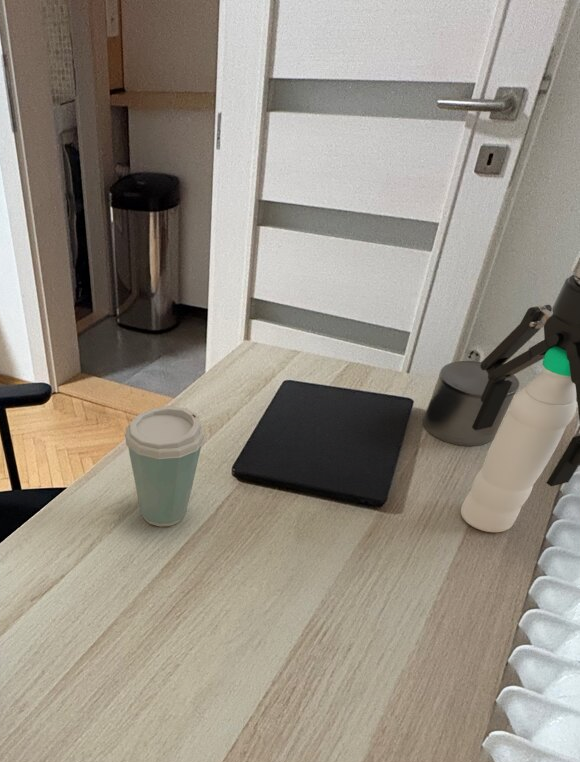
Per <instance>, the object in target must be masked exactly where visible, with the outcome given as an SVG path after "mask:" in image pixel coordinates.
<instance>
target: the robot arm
mask: <svg viewBox="0 0 580 762" xmlns="http://www.w3.org/2000/svg"><path fill="white" fill-rule="evenodd" d="M570 271H571V273H572V274H571V275H570V276H569V277H567V278H566V279H565V280H564V283H563V285H562V287H561V289H560V291H559V293H558V295H557V297H556V299H555V302H554V304H553V306H551V305H550V304H544V305H537V306H531V307H529V308H528V309H527V311H526V312H525V314H524V316H523V317H522V319H521V322H520V323H519V324H518V325H517V326H516V327H515V328H514V329H513V330H512V331H511V332H510V333H509V334H508V335H507V336H506V337H505V338H504V339H503V340H502V341H501V342H500V343H499V344H498V345H497V346H496V347H495V348H494V349H493V350H492V351H490V353H489V354H488V355H487V356H486V357H485V358H484V359H483V360H482V361H481V362H482V363H481V369H482V370H486V371H487V373H488V379H489V380H488V383H487V385H486V387H485V390H484V392H483V394H482V396H481V402H483V404H482V406H481V408H480V410H479V413H478V415H477V417H476V419H475V422H474V424H473V426H472V428H473V429H474V430H479V429H484V428H489V427H492V425H493V423H494V421H495V419H496V417H497V415H498V413H499V410H500V408H501V406H502V404H503V402H504V400H505V398H506V396H507V393H508V391H509V389H510V387H511V385H512V382H511V381H509V380H506V381H505V379H506V378H510V377H513V376H512V375H514V376H515V375H516V374H518V373H519V372H521V371H523V370H525V369H527V368H529V367H530V366H531V367H532V366H533V365H534V364H536V363H538V362H540V361H543V358H544V356H545V354H546V352H547V350H548V349H550V348H552V347H555V346H557V347H559V348H561V349H563V350H565V351H566V354H567V359H568V360H569V364H570V373H571V381H572V382H573V383H574V384H575V386H576V405H577V412H578V421H579V423H580V251H579V252H578V254H577V256H576V258H575V260H574V262H573V265H572V266H571V269H570ZM541 329H543V334H544V335H543V336H544V339H543V340H541V341H540V342H538V343H536V344H534V345H532V346H531V347H529V348H528V350H526V351H524V352H523V353H521V354H519V355H517V356H515V357H514V358H512V357H513V356H514V355H515V354H516V353H517V352H518V351H519V350H520V349H521V348H523V346H525V344H527V342H529V340H531V339H532V338H533V337H534V336H535V335H536V334H537V333H538V332H539V331H540V330H541ZM511 358H512V359H511ZM509 359H510V360H509ZM579 467H580V435H575V436H572V438H571V440H570V441H569V443H568V445H567V447H566V448H565V451H564V452H563V454H562V455H561V456H560V459H559V460H558V462H557V464H556V466H555V467H554V469H553V470H552V472H551V474H550V476H549V478H548V479H547V480H546V484H547V485H548V486H549V487H554V486H559V485H563V484H566V483H569V482H570V481H571V479H572V477H573V476H574V474H575V472H576V471H577V470H578V468H579Z"/></svg>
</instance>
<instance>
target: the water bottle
mask: <svg viewBox="0 0 580 762" xmlns="http://www.w3.org/2000/svg"><path fill="white" fill-rule="evenodd" d="M541 362H542V363H541V366H540V368H541V372H540V373H539V374H538V375H537V376H535V377H534V378H532V379H531V380H530V381H529V382H528V384H527V385H525V386H523V388H521V389H520V390H518V391H517V392H516V393H515V395H514V397H513V399H512V401H511V403H510V405H509V410H508V411H507V412H506V414H505V416H504V418H503V420H502V422H501V424H500V427H499V429H498V431H497V433H496V435H495V437H494V439H493V440H492V441H491V444H490V446H489V448H488V451H487V453H486V456H485V458H484V460H483V463H482V466H481V469H480V470H479V471H478V473H477V474H476V476H475V478H474V480H473V482H472V485H471V489H470V490H469V492H468V493H467V495H466V497H465V499H464V500H463V502H462V504H461V507H460V514H461V517H462V519H463V521H465V523H467V524H468V525H469V526H471V527H473V528H474V529H476V530H479V531H482V532H486V533H502V532H505V531H508V530H509V529H511V528H512V526H513V525H514V524H515V522H516V520H517V518H518V516H519V515H520V512H521V509H522V507H523V505H524V504H525V503H526V502H527V500H528V498H529V497H530V495H531V493H532V490H533V487H534V485H535V483H536V482H537V480H538V479H539V478H540V476H541V475H542V474H543V471H544V470H545V468H546V466H547V465H548V463H549V461H550V459H551V458H552V457H553V455H554V453H555V450H556V449H557V448H558V445H559V443H560V441H561V439H562V437H563V435H564V432H565V431H566V428H567V426H568V425H569V424H570V423H571V422H572V421H573V419H574V417H575V415H576V413H577V395H576V386H575V384H574V383H573V382H572V381H571V373H570V364H569V360H568V359H567V354H566V351H565V350H563V349H561V348H559V347H557V346H555V347H552V348H550V349H548V350H547V352H546V354H545V356H544V358H543V359H542V361H541Z"/></svg>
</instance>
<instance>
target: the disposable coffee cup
mask: <svg viewBox="0 0 580 762" xmlns="http://www.w3.org/2000/svg"><path fill="white" fill-rule="evenodd" d="M124 438H125V445H126V446H127V448H128V453H129V458H130V464H131V468H132V474H133V479H134V485H135V489H136V495H137V498H138V504H139V509H140V515H141V516H142V518H143V519H144V520H145V521H146V522H147V523H148V524H150V525H153V526H155V527H172V526H174V525H176V524H179V523H181V521H182V520H183V518H184V516H185V514H186V513H187V512H188V511H187V510H188V507H189V502H190V498H191V493H192V489H193V486H194V479H195V475H196V472H197V466H198V463H199V458H200V453H201V450H202V445H203V444H204V442H205V441H206V439H205V431H204V429H203V425H202V423H201V420H200V416H198V415H197V414H196V413H195V412H193V411H192V410H191V409H189V408H187V407H182V406H181V407H180V406H174V405H168V406H160V407H153V408H150V409H148V410H146V411H144V412H141V413H139V414H137V415H136V416H134V418H133V420H131V422H130V423H129V424H128V425H127V426H126V427H125V433H124Z"/></svg>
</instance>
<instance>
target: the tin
mask: <svg viewBox="0 0 580 762" xmlns="http://www.w3.org/2000/svg"><path fill="white" fill-rule="evenodd" d="M481 363H482V361H477V360H476V361H475V360H457V361H453V362H449V363H447V364H444V365H443V366H442V368H440V370H439V374H438V378H437V381H436V383H435V386H434V389H433V392H432V395H431V397H430V400H429V402H428V404H427V408H426V411H425V414H424V416H423V419H422V425H423V428H424V429H425V430H426V432H427V433H428V434H430V435H431V436H432V437H434V438H436V439H437V440H440V441H442V442H445V443H448V444H452V445H456V446H463V447H464V446H465V447H477V446H478V447H479V446H484V445H487V444H488V443H490V442H493V440H494V438H495V435H496V433H497V431H498V429H499V427H500V425H501V424H502V422H503V420H504V418H505V416H506V415H507V413H508V411H509V410H508V409H509V408H510V404H511V401H512V399H513V398H514V396H515V395H516V394H517V393H518V391H519V389H520V388H519V387H520V381H519V379H518V378H517V377H516V375H515V374H514V375H512V376H513V377H510V378H506V379H505V381H506V380H509V381H511V382H512V385H511V387H510V389H509V391H508V393H507V396H506V398H505V400H504V402H503V404H502V406H501V408H500V410H499V413H498V415H497V417H496V419H495V421H494V423H493V425H492V427H489V428H484V429H479V430H474V429H473V428H472V426H473V424H474V422H475V419H476V417H477V415H478V413H479V410H480V408H481V406H482V404H483V402H481V396H482V394H483V392H484V390H485V387H486V385H487V383H488V380H489V379H488V373H487V371H486V370H482V369H481Z"/></svg>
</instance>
